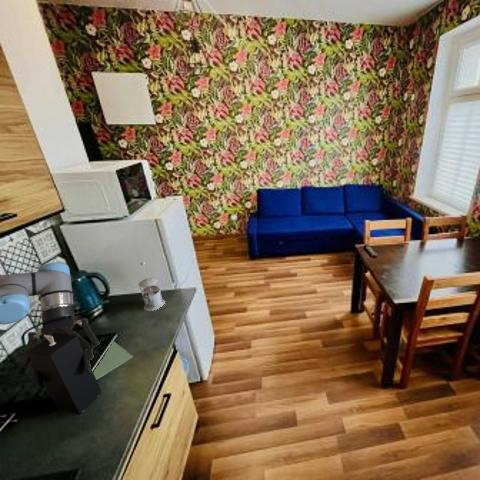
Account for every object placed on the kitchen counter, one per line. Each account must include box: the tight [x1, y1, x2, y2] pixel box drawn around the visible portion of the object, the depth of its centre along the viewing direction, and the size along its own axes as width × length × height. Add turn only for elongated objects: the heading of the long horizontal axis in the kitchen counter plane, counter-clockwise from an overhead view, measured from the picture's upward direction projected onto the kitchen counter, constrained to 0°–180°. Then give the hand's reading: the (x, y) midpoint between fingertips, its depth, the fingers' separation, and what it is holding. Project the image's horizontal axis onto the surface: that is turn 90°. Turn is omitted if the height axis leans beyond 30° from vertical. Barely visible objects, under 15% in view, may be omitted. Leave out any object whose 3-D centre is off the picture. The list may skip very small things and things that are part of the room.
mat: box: [93, 341, 134, 381], centre depth 103 cm, size 20×18×1 cm
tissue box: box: [26, 333, 103, 415], centre depth 82 cm, size 8×8×28 cm
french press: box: [138, 261, 166, 312], centre depth 132 cm, size 10×12×25 cm
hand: (64, 379), depth 80 cm, fingers closed on tissue box, 10 cm apart
